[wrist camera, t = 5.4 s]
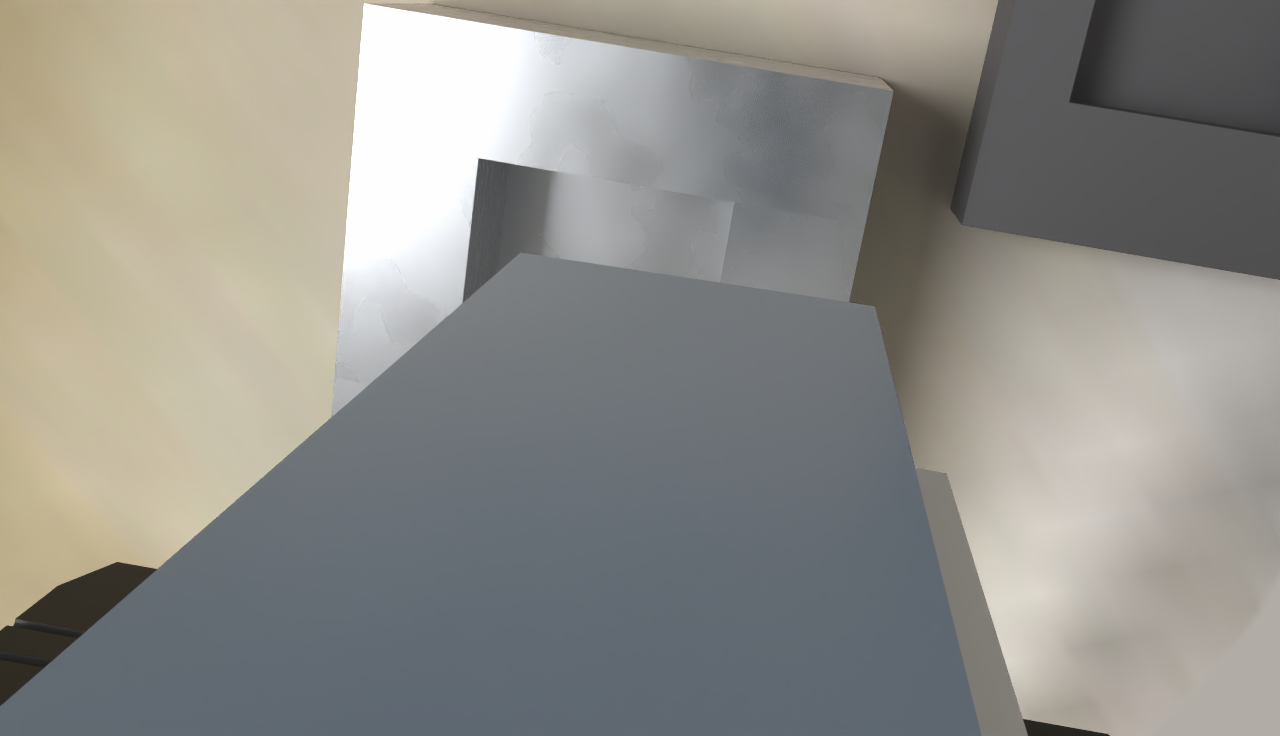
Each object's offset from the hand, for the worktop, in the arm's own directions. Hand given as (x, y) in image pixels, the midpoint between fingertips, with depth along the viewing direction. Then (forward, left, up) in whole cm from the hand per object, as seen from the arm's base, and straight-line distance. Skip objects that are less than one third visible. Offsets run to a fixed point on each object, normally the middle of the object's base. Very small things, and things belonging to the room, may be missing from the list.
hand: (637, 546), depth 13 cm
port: (+2, -3, -21) cm, 21 cm away
